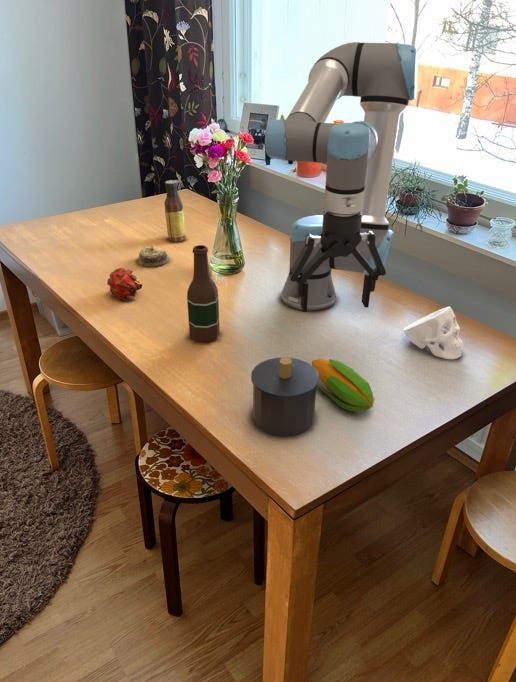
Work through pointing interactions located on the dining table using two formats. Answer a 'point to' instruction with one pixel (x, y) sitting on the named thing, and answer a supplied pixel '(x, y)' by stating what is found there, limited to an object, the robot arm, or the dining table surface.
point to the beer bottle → (202, 300)
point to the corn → (344, 385)
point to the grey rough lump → (152, 257)
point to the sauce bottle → (174, 213)
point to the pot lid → (285, 377)
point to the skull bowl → (437, 333)
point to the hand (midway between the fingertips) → (334, 306)
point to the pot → (283, 413)
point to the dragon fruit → (123, 283)
